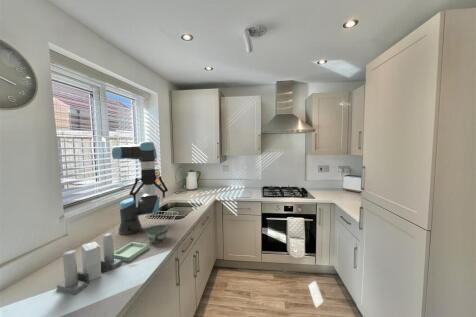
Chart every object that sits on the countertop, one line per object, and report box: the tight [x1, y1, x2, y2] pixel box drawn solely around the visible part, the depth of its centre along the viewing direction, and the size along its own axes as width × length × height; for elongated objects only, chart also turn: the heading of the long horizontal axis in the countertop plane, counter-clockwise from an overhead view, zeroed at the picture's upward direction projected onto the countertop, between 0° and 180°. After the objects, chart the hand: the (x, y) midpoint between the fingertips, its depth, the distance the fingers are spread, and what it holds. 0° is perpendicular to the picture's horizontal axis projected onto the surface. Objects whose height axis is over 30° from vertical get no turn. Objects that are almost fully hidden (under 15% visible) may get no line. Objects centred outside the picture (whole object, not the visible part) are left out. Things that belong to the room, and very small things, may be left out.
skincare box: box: [81, 241, 102, 282], centre depth 97 cm, size 8×6×15 cm
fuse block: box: [56, 232, 123, 295], centre depth 97 cm, size 11×23×16 cm, turn 162°
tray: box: [114, 241, 149, 263], centre depth 116 cm, size 13×15×2 cm
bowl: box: [145, 224, 169, 244], centre depth 131 cm, size 14×13×8 cm
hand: (150, 205), depth 118 cm, fingers open, 13 cm apart
